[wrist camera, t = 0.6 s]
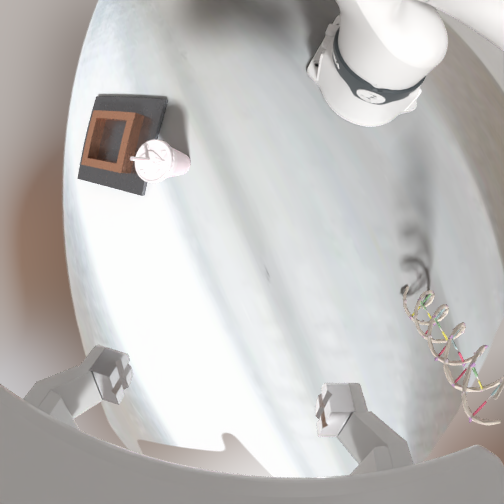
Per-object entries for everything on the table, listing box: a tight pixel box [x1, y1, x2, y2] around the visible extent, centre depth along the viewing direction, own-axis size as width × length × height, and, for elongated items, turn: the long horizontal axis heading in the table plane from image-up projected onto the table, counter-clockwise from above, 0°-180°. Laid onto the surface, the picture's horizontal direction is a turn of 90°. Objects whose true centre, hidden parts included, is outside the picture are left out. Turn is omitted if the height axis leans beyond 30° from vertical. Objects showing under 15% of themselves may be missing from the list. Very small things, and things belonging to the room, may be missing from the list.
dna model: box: [403, 286, 504, 425], centre depth 28 cm, size 7×6×30 cm
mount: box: [78, 97, 168, 196], centre depth 44 cm, size 18×18×4 cm
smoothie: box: [130, 139, 191, 183], centre depth 38 cm, size 6×6×14 cm
